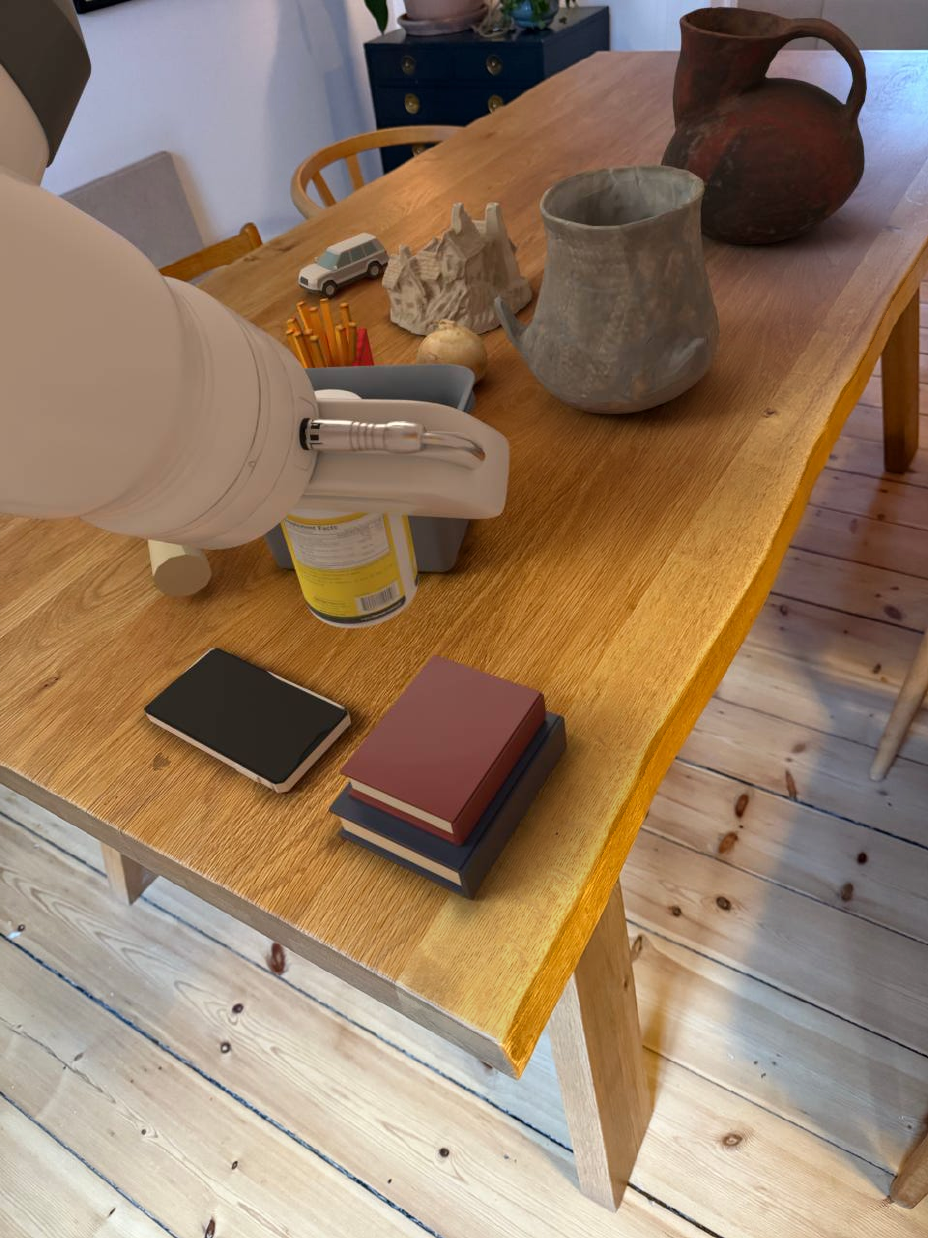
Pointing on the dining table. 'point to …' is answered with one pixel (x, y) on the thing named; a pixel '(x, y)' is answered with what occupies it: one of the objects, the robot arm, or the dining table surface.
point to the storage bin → (413, 382)
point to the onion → (454, 348)
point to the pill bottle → (352, 560)
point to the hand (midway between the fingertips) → (346, 488)
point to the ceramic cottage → (457, 276)
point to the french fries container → (328, 339)
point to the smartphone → (249, 718)
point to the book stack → (450, 773)
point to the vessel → (620, 291)
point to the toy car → (344, 265)
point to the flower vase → (178, 568)
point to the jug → (762, 126)
